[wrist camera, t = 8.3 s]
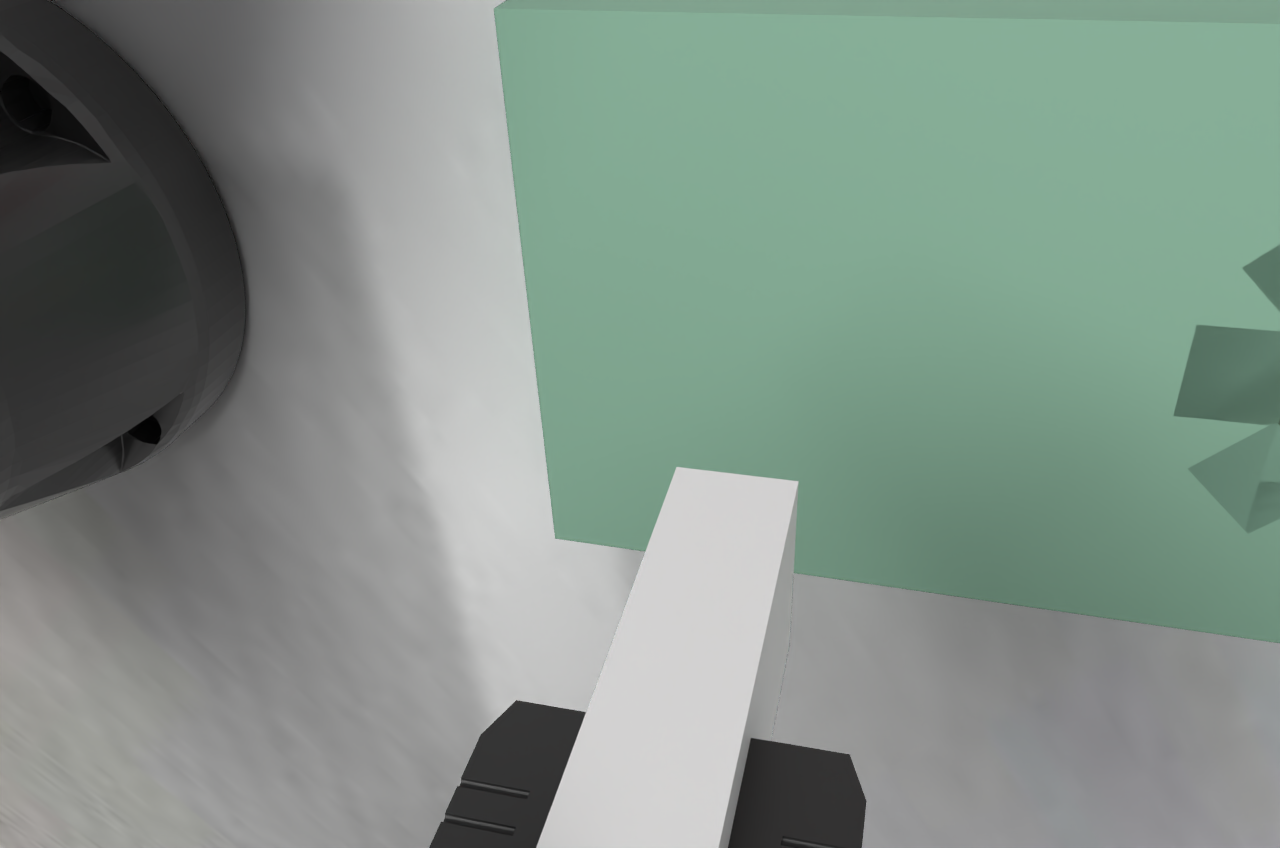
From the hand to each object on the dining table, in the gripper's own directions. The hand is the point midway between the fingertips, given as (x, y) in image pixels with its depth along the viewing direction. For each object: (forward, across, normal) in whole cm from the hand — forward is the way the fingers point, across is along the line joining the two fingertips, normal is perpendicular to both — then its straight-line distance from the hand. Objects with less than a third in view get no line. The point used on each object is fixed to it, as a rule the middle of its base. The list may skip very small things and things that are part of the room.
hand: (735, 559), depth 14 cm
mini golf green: (+14, +5, -3) cm, 15 cm away
